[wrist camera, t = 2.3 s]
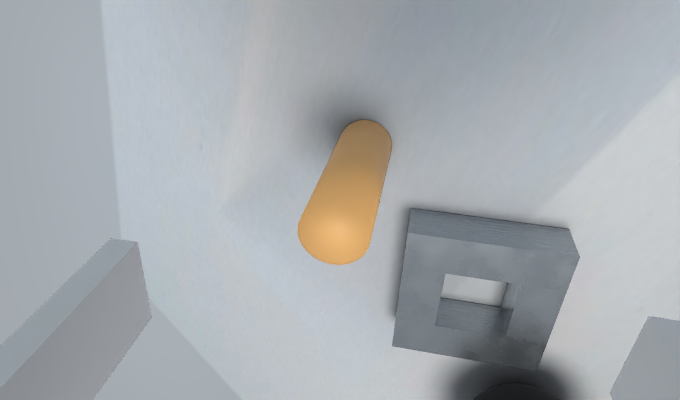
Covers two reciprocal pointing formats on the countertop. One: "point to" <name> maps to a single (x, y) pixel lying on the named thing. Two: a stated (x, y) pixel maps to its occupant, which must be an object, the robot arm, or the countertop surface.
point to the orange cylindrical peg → (347, 195)
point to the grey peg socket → (485, 263)
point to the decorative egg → (515, 393)
